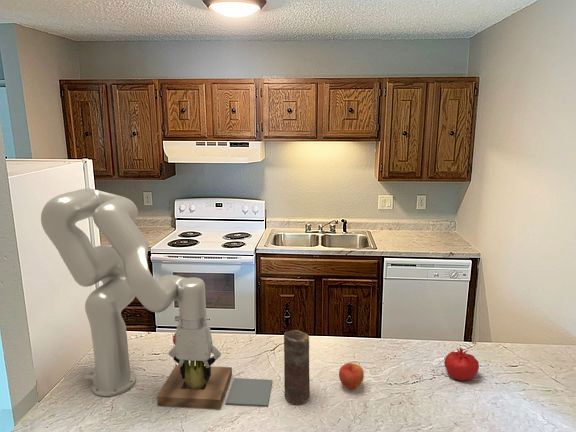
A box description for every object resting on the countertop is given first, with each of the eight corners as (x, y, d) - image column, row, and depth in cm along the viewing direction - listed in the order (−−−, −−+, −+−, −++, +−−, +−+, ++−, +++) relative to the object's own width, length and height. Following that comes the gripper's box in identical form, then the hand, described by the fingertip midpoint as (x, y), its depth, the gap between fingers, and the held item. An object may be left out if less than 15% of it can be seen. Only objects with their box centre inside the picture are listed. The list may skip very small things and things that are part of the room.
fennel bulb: (184, 393, 125) (182, 356, 122) (191, 383, 129) (189, 348, 127) (202, 396, 123) (200, 359, 121) (209, 386, 128) (207, 350, 125)
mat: (225, 404, 120) (225, 402, 120) (233, 379, 131) (233, 378, 131) (267, 406, 119) (267, 405, 119) (272, 381, 131) (272, 379, 130)
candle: (280, 392, 125) (280, 330, 121) (303, 386, 128) (304, 326, 124) (289, 408, 118) (289, 342, 114) (313, 402, 121) (314, 338, 117)
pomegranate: (478, 387, 128) (482, 360, 126) (443, 381, 131) (446, 354, 129) (475, 369, 137) (479, 343, 135) (443, 363, 140) (445, 338, 138)
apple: (364, 382, 130) (365, 358, 129) (361, 396, 123) (362, 372, 122) (340, 378, 132) (341, 355, 130) (336, 392, 125) (337, 368, 124)
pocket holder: (157, 406, 119) (156, 396, 119) (176, 373, 135) (175, 364, 134) (220, 409, 118) (219, 399, 117) (232, 375, 133) (231, 367, 133)
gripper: (159, 325, 119) (162, 383, 122) (219, 328, 117) (221, 385, 121) (168, 313, 126) (171, 368, 130) (225, 316, 125) (227, 370, 128)
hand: (195, 376), depth 125 cm, fingers closed on fennel bulb, 6 cm apart
